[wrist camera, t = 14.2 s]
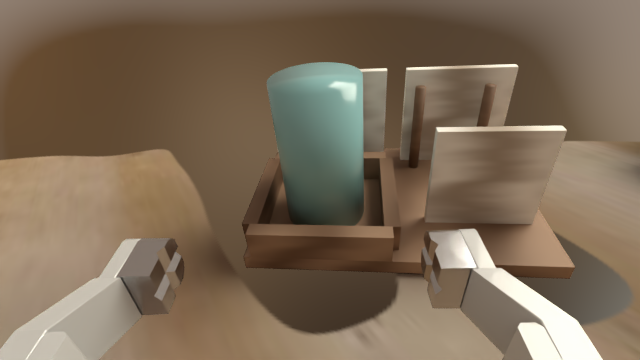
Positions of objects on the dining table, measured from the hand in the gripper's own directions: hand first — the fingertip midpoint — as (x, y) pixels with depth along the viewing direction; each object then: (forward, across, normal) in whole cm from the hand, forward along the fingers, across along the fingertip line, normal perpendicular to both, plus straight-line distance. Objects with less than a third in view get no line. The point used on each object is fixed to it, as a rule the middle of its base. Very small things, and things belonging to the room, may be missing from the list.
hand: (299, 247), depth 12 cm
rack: (+14, -6, +10) cm, 18 cm away
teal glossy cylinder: (+12, -1, +8) cm, 15 cm away
